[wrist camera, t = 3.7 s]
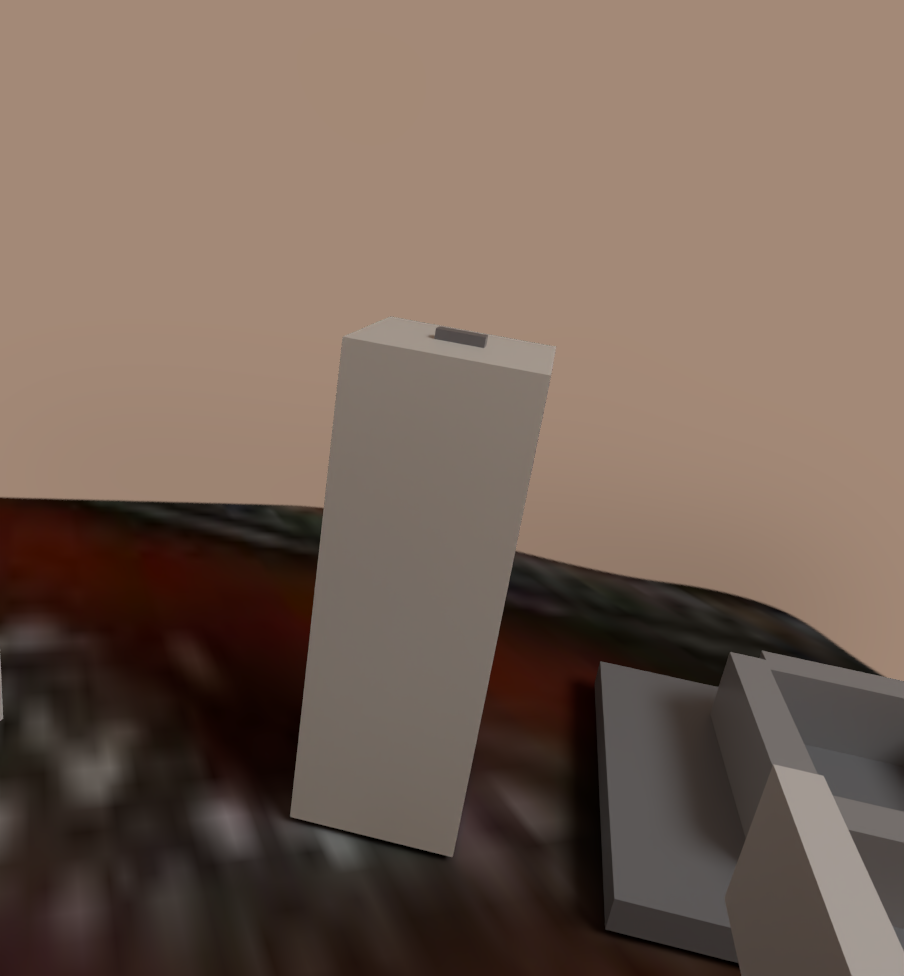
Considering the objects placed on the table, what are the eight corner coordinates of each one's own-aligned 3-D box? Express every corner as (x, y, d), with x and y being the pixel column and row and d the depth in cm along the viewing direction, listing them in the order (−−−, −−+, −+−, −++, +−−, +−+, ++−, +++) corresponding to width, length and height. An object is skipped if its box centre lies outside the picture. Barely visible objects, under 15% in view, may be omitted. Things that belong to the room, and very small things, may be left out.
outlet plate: (605, 929, 19) (639, 817, 18) (594, 683, 29) (615, 602, 28) (1307, 1106, 17) (1395, 997, 16) (1033, 781, 28) (1074, 700, 26)
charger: (289, 816, 21) (344, 325, 16) (338, 718, 25) (391, 307, 20) (452, 857, 20) (553, 363, 16) (473, 749, 24) (558, 336, 20)
